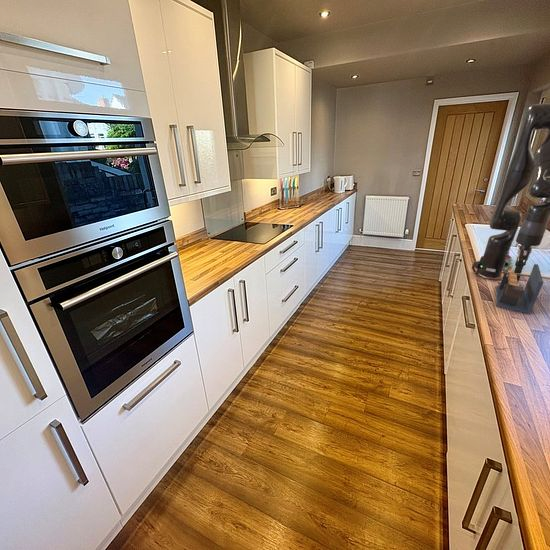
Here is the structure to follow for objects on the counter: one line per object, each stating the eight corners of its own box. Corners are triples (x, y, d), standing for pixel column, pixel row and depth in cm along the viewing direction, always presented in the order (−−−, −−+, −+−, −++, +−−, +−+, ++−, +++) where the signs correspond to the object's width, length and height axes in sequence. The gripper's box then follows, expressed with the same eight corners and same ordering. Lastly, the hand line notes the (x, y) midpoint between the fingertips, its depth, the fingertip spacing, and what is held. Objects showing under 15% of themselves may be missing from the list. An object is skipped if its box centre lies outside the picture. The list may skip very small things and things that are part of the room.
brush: (503, 275, 131) (506, 268, 130) (517, 277, 128) (520, 270, 127) (504, 295, 115) (507, 287, 113) (520, 298, 112) (523, 291, 111)
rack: (496, 287, 135) (506, 259, 129) (526, 293, 130) (538, 264, 123) (496, 306, 121) (507, 275, 115) (530, 314, 115) (543, 282, 109)
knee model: (507, 266, 167) (506, 276, 149) (493, 258, 170) (490, 266, 152) (520, 254, 162) (520, 262, 144) (506, 245, 166) (504, 252, 147)
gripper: (519, 226, 119) (507, 262, 126) (518, 234, 110) (505, 273, 116) (543, 229, 115) (529, 266, 122) (544, 238, 105) (529, 278, 112)
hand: (517, 269), depth 119 cm, fingers open, 8 cm apart
